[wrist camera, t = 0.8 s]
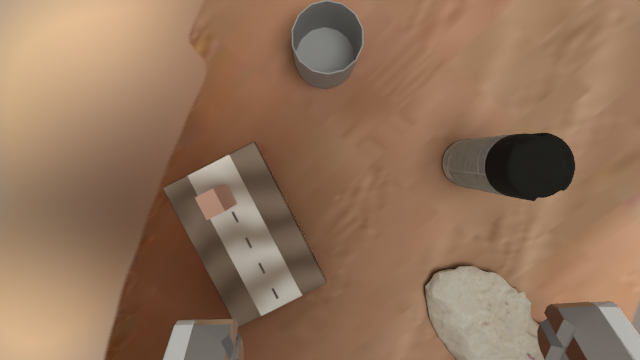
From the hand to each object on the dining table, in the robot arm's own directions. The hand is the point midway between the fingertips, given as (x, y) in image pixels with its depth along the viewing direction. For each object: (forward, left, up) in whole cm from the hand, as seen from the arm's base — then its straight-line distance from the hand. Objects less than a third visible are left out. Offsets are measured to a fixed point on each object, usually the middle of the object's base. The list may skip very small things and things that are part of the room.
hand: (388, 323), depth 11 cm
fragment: (-27, -11, -48) cm, 56 cm away
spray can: (-5, -19, -47) cm, 51 cm away
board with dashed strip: (0, +13, -47) cm, 49 cm away
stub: (+6, +13, -45) cm, 47 cm away
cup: (+17, -8, -47) cm, 51 cm away
